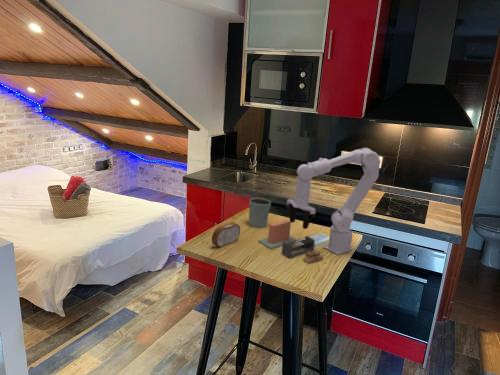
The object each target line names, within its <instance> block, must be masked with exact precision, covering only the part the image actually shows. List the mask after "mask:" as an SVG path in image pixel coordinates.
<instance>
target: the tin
mask: <svg viewBox="0 0 500 375" xmlns="http://www.w3.org/2000/svg"><path fill="white" fill-rule="evenodd" d="M240 233H241V226H240V225H239V224H238V223H236V222H234V221H233V222H229V223H226V224H223V225H220V226H217V227H216V229H214V231H213V233H212V236H211V243H212V244H213V245H214V246H216V247H218V248H222V247H224V246H227V245H229V244H232V243H234V242H236V241H237V240H238V238H239V237H240Z"/></svg>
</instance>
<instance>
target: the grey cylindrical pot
mask: <svg viewBox="0 0 500 375" xmlns="http://www.w3.org/2000/svg"><path fill="white" fill-rule="evenodd" d="M271 205H272V201H271V200H269V199H267V198H262V197H252V198H250V199H249V207H248V208H249V209H248V210H249V213H248V214H249V217H248V219H249V220H248V225H249V226H250V227H252V228H256V229H262V228H266V227H267V224H268V218H269V214H270V209H271Z"/></svg>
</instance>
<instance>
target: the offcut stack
mask: <svg viewBox="0 0 500 375" xmlns="http://www.w3.org/2000/svg"><path fill="white" fill-rule="evenodd" d="M304 255H305V257H304V258H303V259H302V262H304V263H306V264H307V265H310V264H314V263H316V262H321V261H323V260H324V254H322V253H321V251H319V250H317V249H314V251H310V252H307V253H306V254H304Z"/></svg>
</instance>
